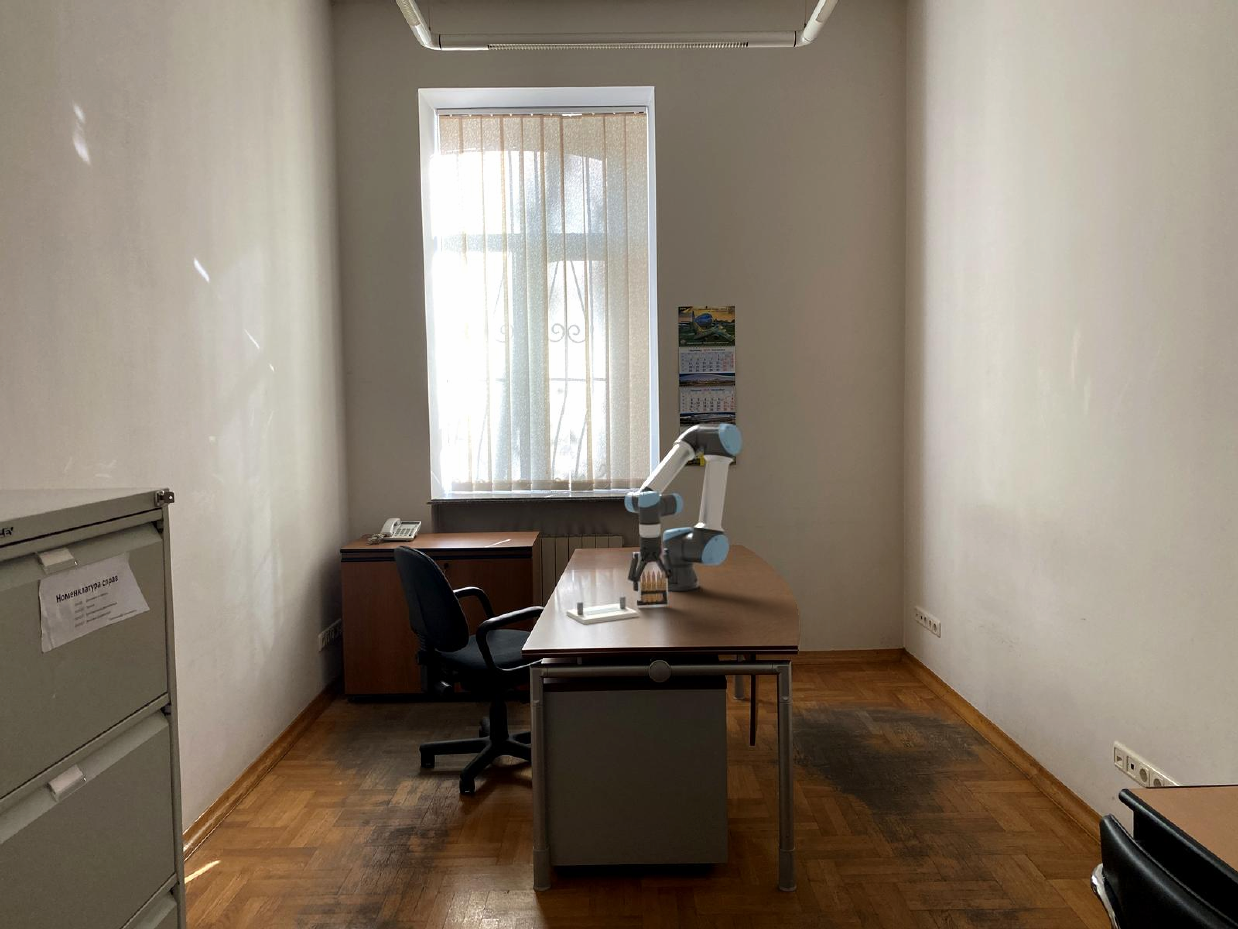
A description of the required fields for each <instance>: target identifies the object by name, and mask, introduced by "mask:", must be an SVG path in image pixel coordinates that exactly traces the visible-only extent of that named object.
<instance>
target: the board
mask: <svg viewBox="0 0 1238 929" xmlns="http://www.w3.org/2000/svg"><path fill="white" fill-rule="evenodd" d="M626 598H627V597H626V596H623V595H621V596H619V603H611V604H605V605H604V604H603V605H597V606H595V605H594V606H590V607H584V602H583V601H577V602H576V609H575V608H573V609H567V610H565V612H566V613H565V614H566V616H568V617H570V618H571V619H573V620H575V621H577V622H579V623H581V624H582V625H588V624H596V623H602V622H609V621H615V620H616V621H617V620H624V619H631V618H636V617H639V612H638V611H637V610H634V609H632V608H630V607H628V606H626V605H627V604H626Z"/></svg>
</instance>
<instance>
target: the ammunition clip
mask: <svg viewBox="0 0 1238 929" xmlns="http://www.w3.org/2000/svg"><path fill="white" fill-rule="evenodd" d="M660 572H661V571H659V570H658V571H657V573H655V570H653V571H652V574H651V573H650V570H647V576H646V572H645V571H644V570H643V572H642V575H641V577H640V579H639V582H641V601H638V600H636V606H637V607H639V606H641V607H643V606H657V605H660V606H661V605H668V597H667V592H666V578H665V572H664V570H663V573H662V572H661V573H660ZM656 574H657V575H656ZM661 575H662V589H661V579H660V578H661Z"/></svg>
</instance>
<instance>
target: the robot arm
mask: <svg viewBox="0 0 1238 929" xmlns="http://www.w3.org/2000/svg"><path fill="white" fill-rule="evenodd" d="M742 446H743V438H742V435H741V433H740V430H739V429H738V427H737V426H735V425H734V424H731V423H725V422H724V423H699V424H695V425H693V426H691V427H689V428H688V429H687V430H685V431H684V432H682V434H681V435H680V436H679V437H678V438H677V439H676V440H675V441H674V442H673V444H672V449H671V450H670V451H669V452H668V454H667V455H665V457H664V459H663V460H662V461H661V462H660V463H659V464H658V465H657V467H656V468H655V469H654V470H653V472H651V474H650V475H649V477H648V478H647V479H646V480H645V481H644V482H643V484H642V485H641V486H640V488H639V489H637V491H630V492H628V493H627V494H626V495H625V498H624V506H625V509H626V510H627V511H628V512H630V513H634V514H638V527H639V528H638V529H639V530H638V531H639V533H638V534H639V535H640V536H639V551H636V552H634V551H633V552H631V558H632V559H631V563H630V567H629V570H628V571H629V572H628V575H627V580H628V581H630V582H632V589H633V591H634V592H635V600H636V601H637V600H638V601H641V586H642V581H641V582H639V579H640V577H641V578H642V574H643V571H644V570H645V567H646V566H647V565H648V564H650V563H656V565H657V567H658V568H659V569H660V572H661V574H660V579H661V589H662V573H663V570H664V572H665V578H666V592H667V598H668V597H669V591H674V592H675V591H676V592H679V591H681V592H682V591H683V592H685V591H691V590H696V589H698V588H699V580H698V576H697V574H696V571H695V567H694V564H701V565H705V566H717V565H720V564H721V563H723V561H725V559H726V558H727V556H728V553H729V550H730V543H729V539H728V537H727V536H726V535H725V530H724V529H723V527H722V520H723V513H724V512H723V511H724V505H725V496H726V489H727V482H728V481H727V480H728V473H729V466H730V463H732V462H733V461H734V457H735V456H736V455H737V454H739V453H740V451H741V449H742ZM700 454H702V455H703V456H702V457H703V459H704V460H705V461H706V462H705V470H704V477H703V478H704V479H703V487H702V494H701V502H700V508H699V517H698V523H697V524H696V525H694V526H693V527H689V526H688V527H687V526H686V527H677V528H676V527H675V528H671V529H667V530H665V531H663V534H662V537H661V533H662V528H661V518H662V517H667V516H674V515H676V514H679V513H681V512H682V511H683V508H684V500H683V498H682V497H681V496H680V494H679V493H665V494H663V492H664V491H665V490H666V488H667V487H668V486H669V485H670V483H671V482H672V481H673V480H674V479H675V477H676V476H677V475H678V473H680V472H681V470H682V469H683V467H684V466H685V465H686V464H687V463H688V461H692V460H693V459H694V458H695V457H696V456H697V455H700ZM661 555H662V557H663V560H662V559H661ZM640 557H641V558H640ZM639 559H640V560H639ZM638 563H639V564H638Z"/></svg>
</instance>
